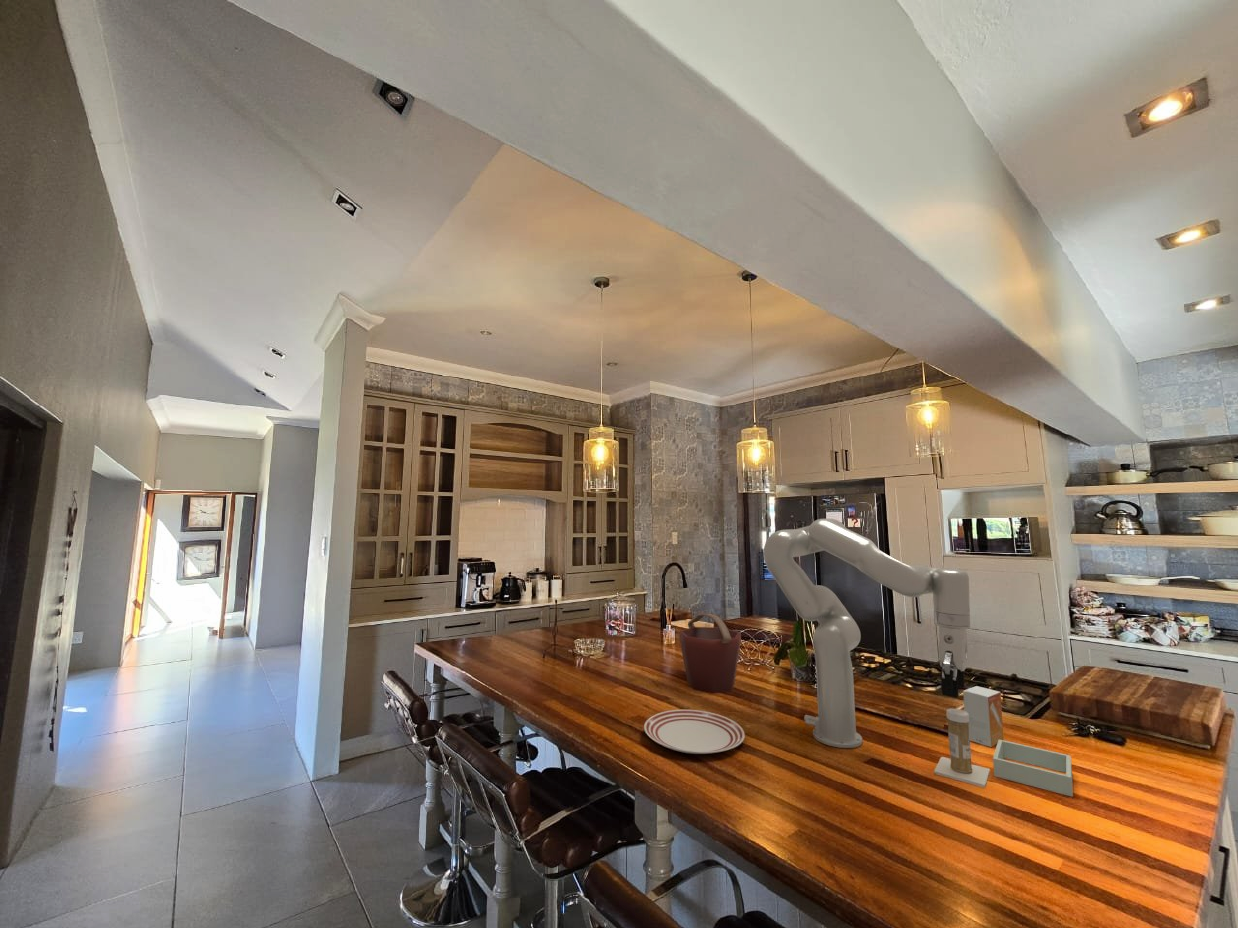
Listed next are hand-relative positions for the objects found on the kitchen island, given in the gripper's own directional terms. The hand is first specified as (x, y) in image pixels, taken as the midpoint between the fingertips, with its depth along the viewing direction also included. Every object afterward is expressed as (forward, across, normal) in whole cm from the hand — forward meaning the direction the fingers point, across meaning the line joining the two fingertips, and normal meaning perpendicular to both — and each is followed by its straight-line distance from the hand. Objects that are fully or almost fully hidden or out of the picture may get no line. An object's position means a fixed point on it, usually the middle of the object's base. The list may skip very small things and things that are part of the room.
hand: (953, 690), depth 126 cm
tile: (+19, 0, -1) cm, 19 cm away
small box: (+19, +26, -3) cm, 32 cm away
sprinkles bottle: (+18, 0, -1) cm, 18 cm away
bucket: (+22, +18, +78) cm, 83 cm away
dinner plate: (+21, -26, +58) cm, 67 cm away
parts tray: (+18, +10, -14) cm, 25 cm away
